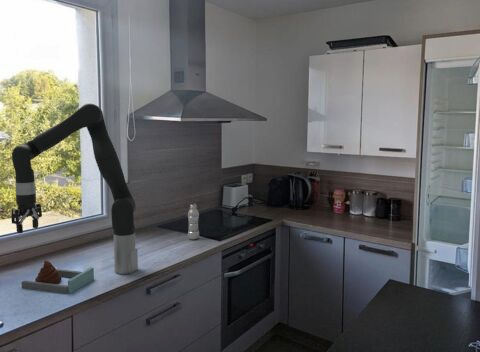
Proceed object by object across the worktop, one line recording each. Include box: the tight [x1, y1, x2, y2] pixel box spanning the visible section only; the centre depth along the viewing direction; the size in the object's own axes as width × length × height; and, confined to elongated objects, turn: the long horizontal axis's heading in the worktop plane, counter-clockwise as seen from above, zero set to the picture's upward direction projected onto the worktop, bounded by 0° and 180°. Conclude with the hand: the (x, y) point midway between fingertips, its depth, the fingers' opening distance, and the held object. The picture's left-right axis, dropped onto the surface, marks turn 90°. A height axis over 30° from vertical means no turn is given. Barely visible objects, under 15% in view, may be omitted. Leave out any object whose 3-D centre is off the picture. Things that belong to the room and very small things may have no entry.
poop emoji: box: [34, 260, 62, 284], centre depth 170 cm, size 10×8×9 cm
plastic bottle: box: [187, 203, 200, 240], centre depth 233 cm, size 6×7×20 cm
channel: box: [21, 267, 95, 294], centre depth 169 cm, size 22×16×5 cm
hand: (28, 230), depth 175 cm, fingers open, 8 cm apart
